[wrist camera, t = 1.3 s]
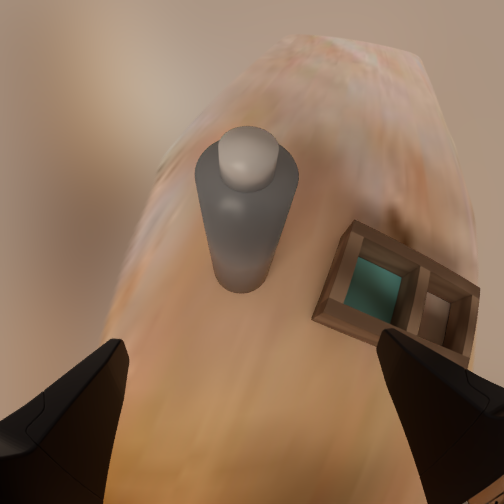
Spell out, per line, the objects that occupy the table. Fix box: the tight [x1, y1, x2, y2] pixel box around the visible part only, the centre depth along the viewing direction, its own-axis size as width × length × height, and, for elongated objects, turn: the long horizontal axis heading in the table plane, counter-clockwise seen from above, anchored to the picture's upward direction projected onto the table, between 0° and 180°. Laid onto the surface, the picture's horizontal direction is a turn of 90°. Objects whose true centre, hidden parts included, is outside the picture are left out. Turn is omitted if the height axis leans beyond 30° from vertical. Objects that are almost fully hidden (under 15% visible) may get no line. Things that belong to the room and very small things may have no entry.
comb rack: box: [311, 220, 480, 369], centre depth 22 cm, size 8×16×4 cm, turn 65°
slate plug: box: [195, 126, 299, 293], centre depth 17 cm, size 5×5×15 cm
